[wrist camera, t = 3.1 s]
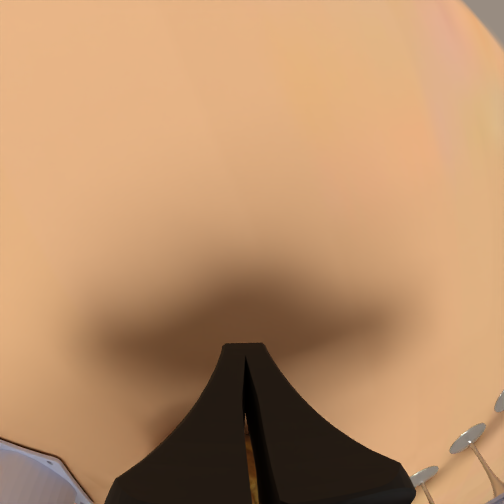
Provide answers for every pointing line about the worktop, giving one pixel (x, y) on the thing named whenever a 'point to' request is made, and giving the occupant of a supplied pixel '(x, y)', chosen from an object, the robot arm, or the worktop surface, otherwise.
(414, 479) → the goblet set
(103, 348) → the worktop surface
